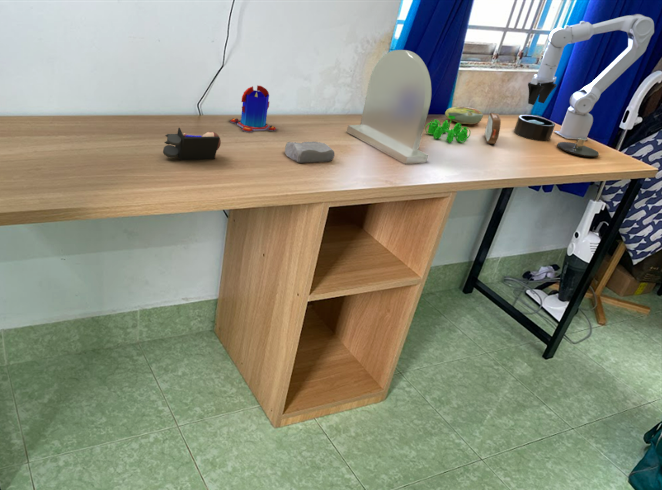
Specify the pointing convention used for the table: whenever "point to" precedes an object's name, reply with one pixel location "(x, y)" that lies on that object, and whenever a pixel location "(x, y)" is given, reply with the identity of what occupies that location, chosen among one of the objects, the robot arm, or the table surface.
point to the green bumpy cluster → (438, 130)
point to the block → (536, 122)
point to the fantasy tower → (254, 110)
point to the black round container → (534, 128)
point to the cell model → (464, 115)
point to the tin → (492, 128)
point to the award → (396, 107)
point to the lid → (578, 148)
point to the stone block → (309, 152)
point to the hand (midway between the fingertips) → (535, 103)
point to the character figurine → (192, 146)
